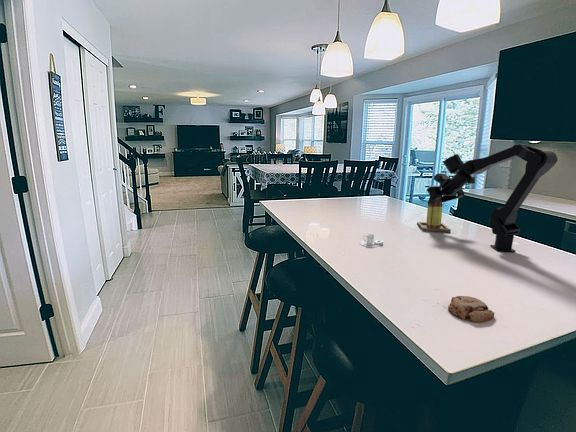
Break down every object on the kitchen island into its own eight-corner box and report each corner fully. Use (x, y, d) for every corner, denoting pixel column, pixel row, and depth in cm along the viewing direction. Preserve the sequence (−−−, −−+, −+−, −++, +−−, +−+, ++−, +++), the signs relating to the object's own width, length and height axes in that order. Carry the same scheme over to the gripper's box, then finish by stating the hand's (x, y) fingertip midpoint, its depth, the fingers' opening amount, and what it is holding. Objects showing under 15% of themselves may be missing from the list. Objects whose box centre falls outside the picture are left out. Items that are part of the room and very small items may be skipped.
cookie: (479, 303, 87) (481, 292, 87) (501, 325, 77) (503, 313, 76) (439, 301, 88) (441, 290, 87) (456, 322, 78) (457, 311, 77)
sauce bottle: (442, 227, 159) (447, 185, 155) (437, 230, 155) (442, 187, 151) (428, 225, 164) (433, 184, 159) (423, 227, 160) (427, 185, 155)
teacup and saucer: (384, 244, 135) (385, 234, 134) (378, 249, 129) (379, 239, 128) (363, 240, 140) (364, 231, 139) (356, 245, 134) (357, 235, 133)
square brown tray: (450, 232, 153) (450, 229, 153) (422, 231, 155) (422, 228, 154) (442, 226, 165) (443, 223, 164) (416, 224, 166) (417, 221, 166)
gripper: (461, 167, 154) (438, 188, 166) (432, 168, 146) (410, 190, 158) (475, 186, 149) (450, 207, 161) (446, 188, 141) (422, 209, 153)
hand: (433, 203), depth 158 cm, fingers open, 7 cm apart
